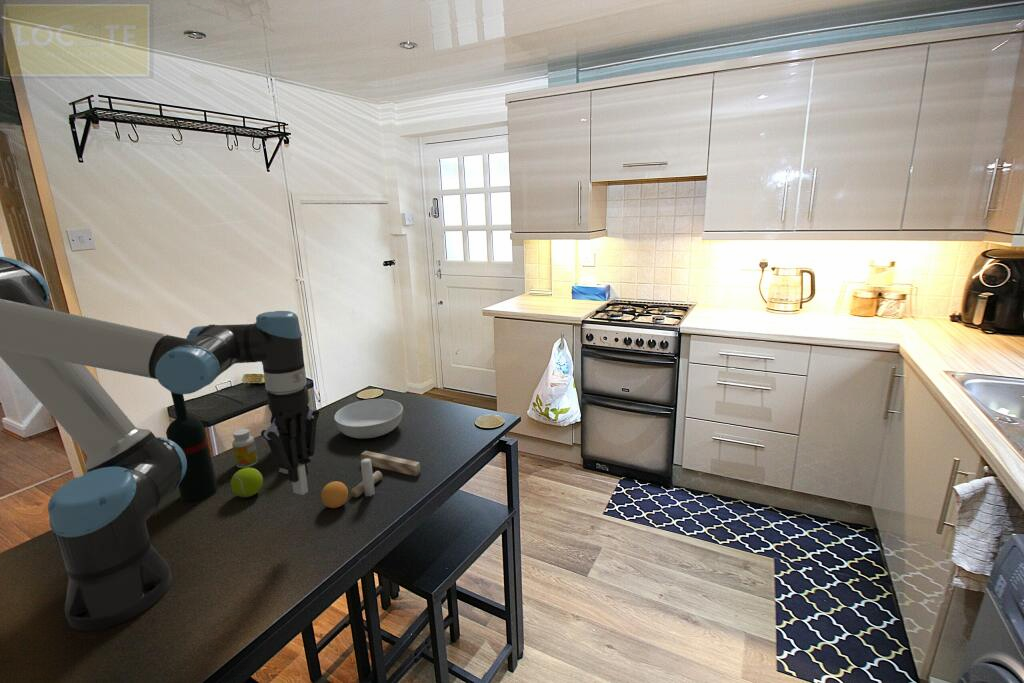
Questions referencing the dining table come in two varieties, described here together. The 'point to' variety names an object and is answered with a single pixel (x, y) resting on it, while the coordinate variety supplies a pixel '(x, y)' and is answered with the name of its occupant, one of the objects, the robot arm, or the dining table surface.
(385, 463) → the back wall
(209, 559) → the dining table surface
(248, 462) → the supplement bottle
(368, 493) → the pin
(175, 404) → the wine bottle
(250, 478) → the tennis ball
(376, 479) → the pin
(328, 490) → the ball
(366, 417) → the serving bowl
